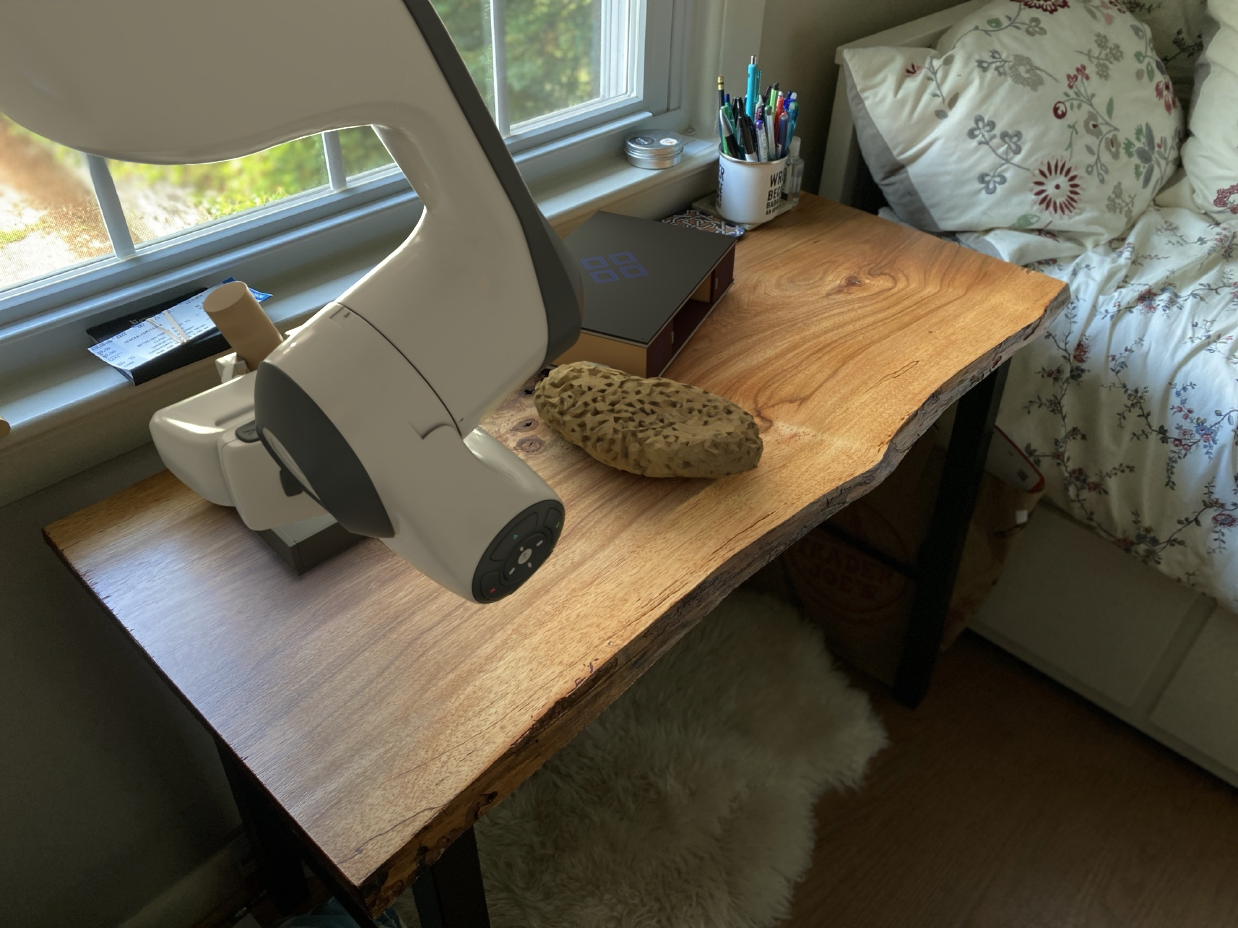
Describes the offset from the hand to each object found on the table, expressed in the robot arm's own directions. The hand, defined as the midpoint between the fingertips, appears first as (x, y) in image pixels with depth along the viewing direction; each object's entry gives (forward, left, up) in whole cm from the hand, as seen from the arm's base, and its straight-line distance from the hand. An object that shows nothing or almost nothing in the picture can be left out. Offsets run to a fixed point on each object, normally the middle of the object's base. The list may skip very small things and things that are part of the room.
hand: (260, 351), depth 67 cm
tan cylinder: (+2, -1, -6) cm, 7 cm away
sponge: (+27, -13, -16) cm, 34 cm away
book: (+41, +5, -16) cm, 44 cm away
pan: (+5, +2, -16) cm, 17 cm away
